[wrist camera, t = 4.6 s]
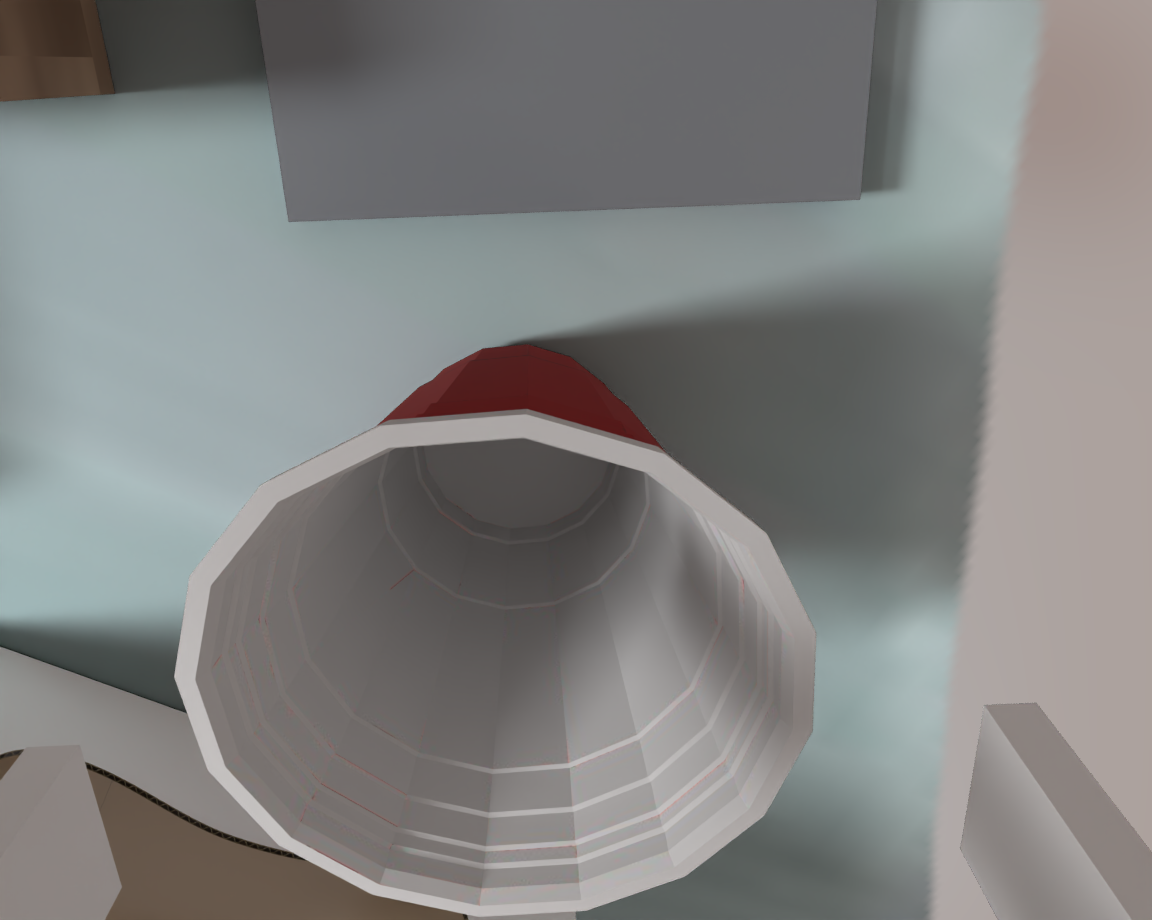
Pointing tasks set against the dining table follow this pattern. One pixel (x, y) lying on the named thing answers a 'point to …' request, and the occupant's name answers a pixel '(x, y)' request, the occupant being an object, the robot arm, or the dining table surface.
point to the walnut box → (52, 50)
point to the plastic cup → (498, 651)
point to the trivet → (564, 104)
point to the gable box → (177, 811)
